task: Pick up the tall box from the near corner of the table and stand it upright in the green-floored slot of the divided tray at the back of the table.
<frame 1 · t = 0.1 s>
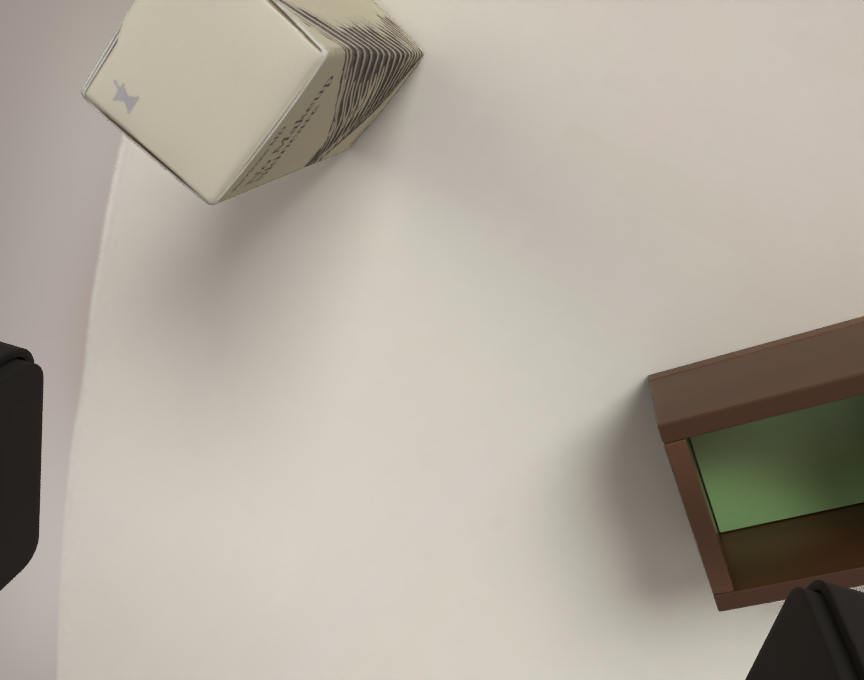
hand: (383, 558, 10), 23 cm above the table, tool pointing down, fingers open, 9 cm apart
box: (347, 62, 30), on the table
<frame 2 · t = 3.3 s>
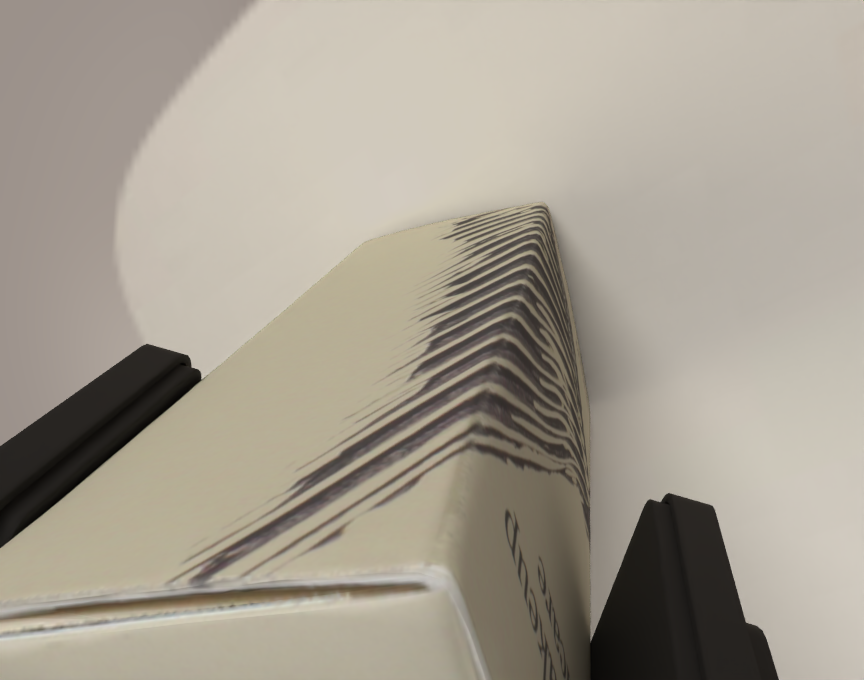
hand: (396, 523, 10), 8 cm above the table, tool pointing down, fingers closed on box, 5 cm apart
box: (474, 317, 18), on the table, touching gripper
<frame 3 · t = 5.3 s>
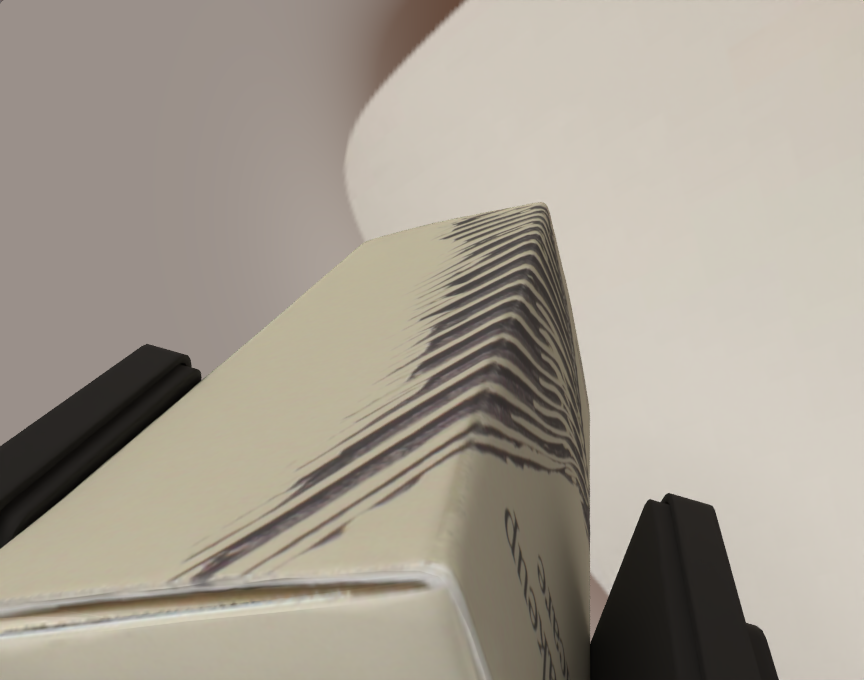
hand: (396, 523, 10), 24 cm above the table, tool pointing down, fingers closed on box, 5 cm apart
box: (474, 317, 18), point 16 cm above the table, touching gripper
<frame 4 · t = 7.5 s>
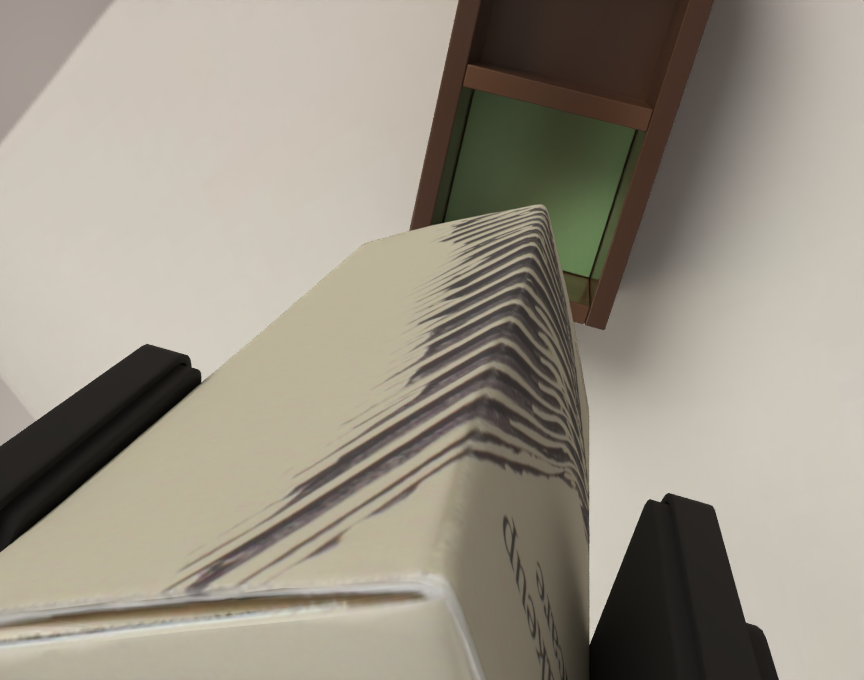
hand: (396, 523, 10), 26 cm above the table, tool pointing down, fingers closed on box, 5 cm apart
box: (473, 319, 18), point 18 cm above the table, touching gripper
divided tray: (560, 89, 32), on the table
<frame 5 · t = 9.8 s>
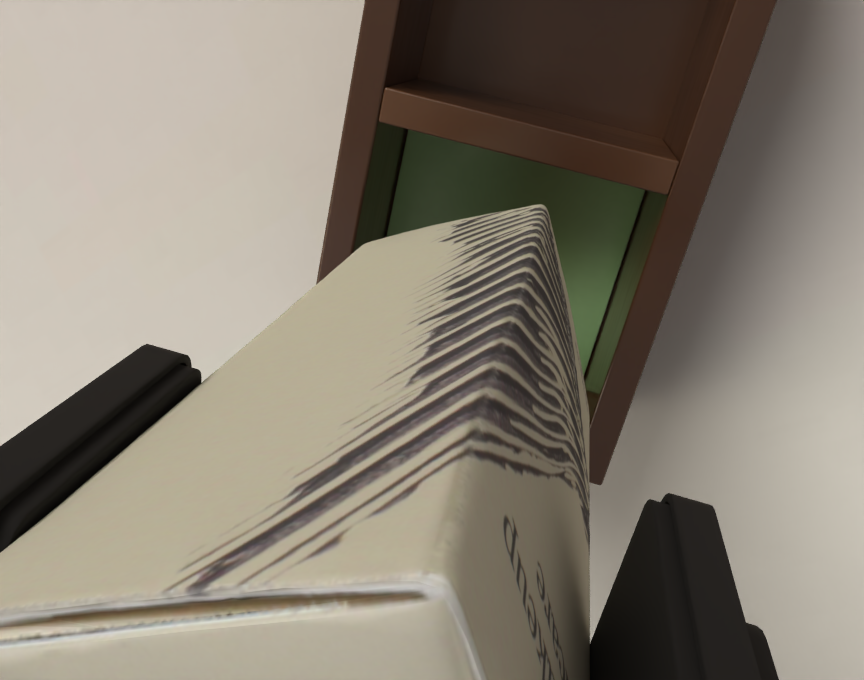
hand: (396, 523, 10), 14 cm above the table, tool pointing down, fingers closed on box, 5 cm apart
box: (473, 319, 18), point 6 cm above the table, touching gripper
divided tray: (536, 120, 22), on the table
when the fingers open (9 cm above the table, at t = 11.7 s): box stays where it is, resting on divided tray.
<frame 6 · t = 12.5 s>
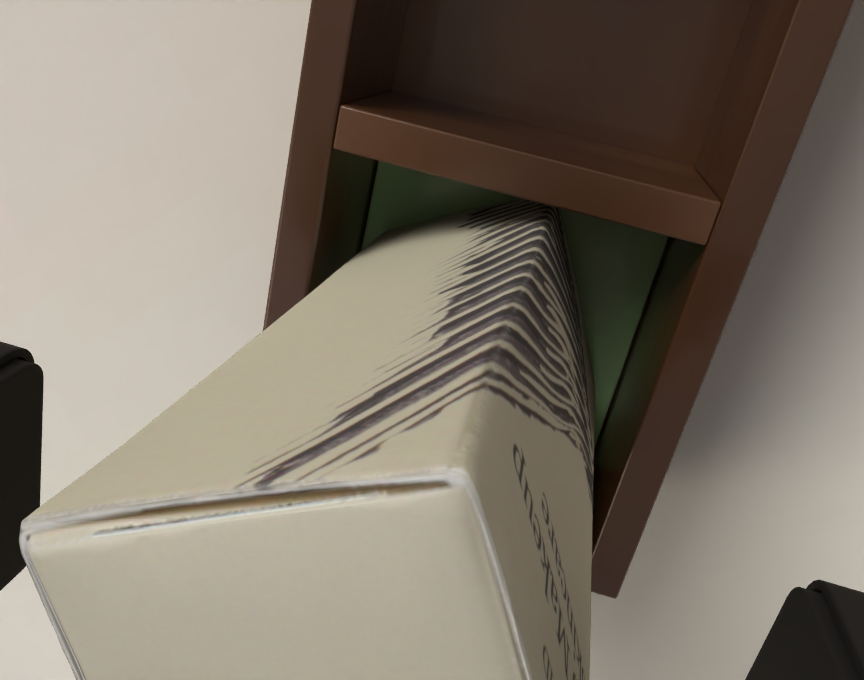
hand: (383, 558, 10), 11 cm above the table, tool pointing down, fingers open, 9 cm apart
box: (487, 303, 19), point 1 cm above the table, touching divided tray
divided tray: (537, 142, 18), on the table
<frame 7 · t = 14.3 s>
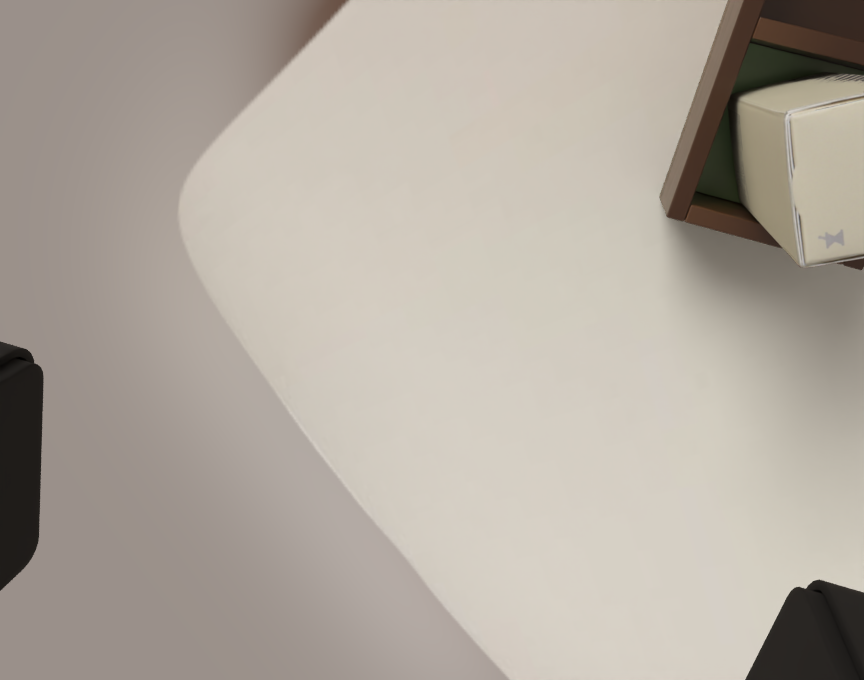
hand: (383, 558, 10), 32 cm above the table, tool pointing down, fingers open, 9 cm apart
box: (778, 135, 36), point 1 cm above the table, touching divided tray
divided tray: (813, 47, 35), on the table
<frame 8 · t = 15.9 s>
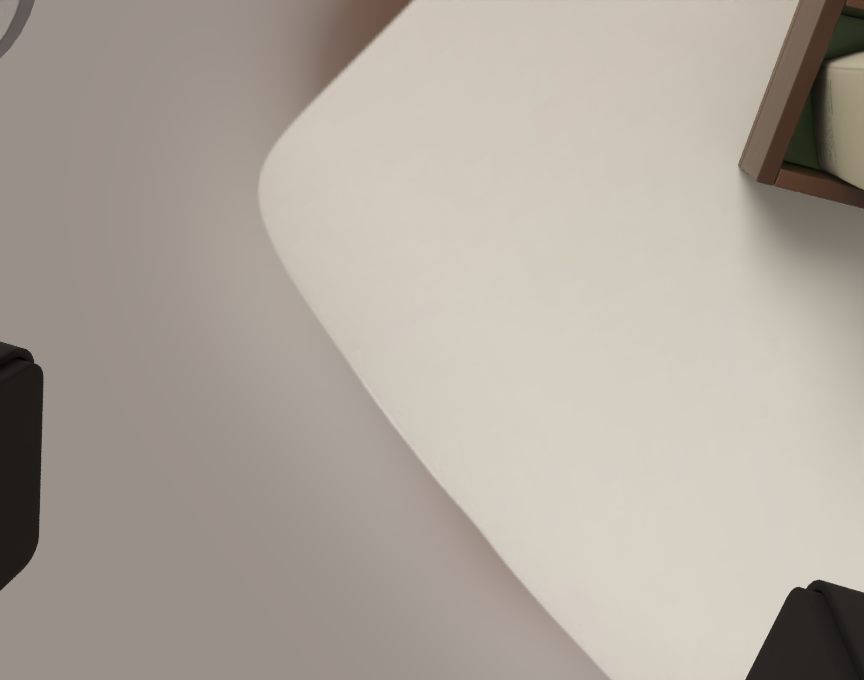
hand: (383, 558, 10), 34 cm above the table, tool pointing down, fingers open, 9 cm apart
box: (858, 102, 37), point 1 cm above the table, touching divided tray
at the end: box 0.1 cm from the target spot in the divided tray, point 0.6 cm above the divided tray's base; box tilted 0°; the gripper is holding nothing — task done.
